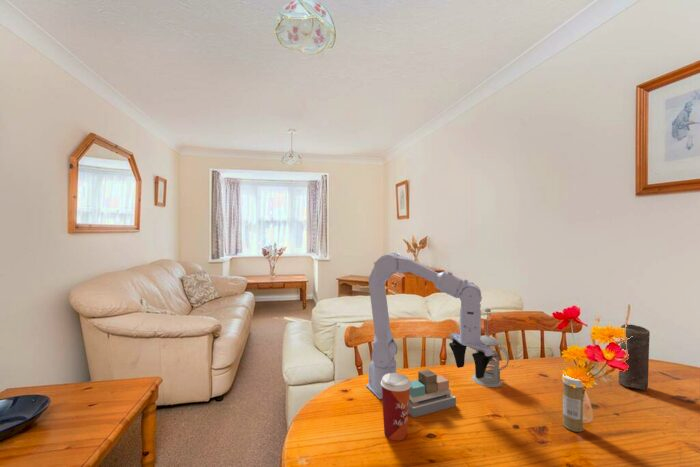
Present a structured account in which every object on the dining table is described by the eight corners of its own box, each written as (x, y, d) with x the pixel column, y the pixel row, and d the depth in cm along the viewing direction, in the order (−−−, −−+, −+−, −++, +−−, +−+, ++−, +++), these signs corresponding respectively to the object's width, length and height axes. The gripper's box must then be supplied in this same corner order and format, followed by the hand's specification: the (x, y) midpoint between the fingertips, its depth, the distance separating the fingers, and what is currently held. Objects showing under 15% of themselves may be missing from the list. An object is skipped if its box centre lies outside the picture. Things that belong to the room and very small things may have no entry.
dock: (398, 404, 95) (398, 395, 95) (439, 394, 101) (439, 385, 101) (413, 417, 88) (413, 408, 88) (455, 405, 94) (455, 397, 94)
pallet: (403, 397, 94) (403, 373, 94) (439, 388, 100) (439, 366, 100) (413, 405, 90) (413, 380, 90) (450, 396, 95) (450, 372, 95)
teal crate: (405, 390, 94) (405, 382, 94) (416, 388, 96) (416, 379, 96) (413, 397, 90) (413, 388, 90) (425, 394, 92) (425, 385, 92)
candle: (645, 385, 108) (646, 326, 108) (651, 394, 102) (652, 331, 102) (616, 379, 112) (617, 322, 112) (620, 388, 106) (621, 327, 106)
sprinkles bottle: (586, 429, 84) (586, 377, 84) (578, 435, 81) (579, 382, 81) (566, 420, 87) (567, 371, 87) (558, 425, 85) (559, 375, 85)
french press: (475, 371, 118) (476, 303, 118) (510, 380, 111) (511, 308, 111) (468, 381, 110) (469, 308, 110) (505, 391, 103) (506, 314, 103)
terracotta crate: (429, 385, 97) (429, 377, 97) (439, 382, 99) (439, 374, 99) (437, 391, 94) (438, 382, 94) (448, 388, 95) (448, 380, 95)
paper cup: (403, 447, 76) (404, 388, 76) (374, 436, 80) (375, 380, 80) (415, 430, 82) (416, 376, 82) (388, 421, 87) (388, 369, 86)
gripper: (500, 331, 88) (500, 380, 88) (462, 317, 102) (462, 360, 102) (481, 334, 85) (481, 384, 86) (445, 320, 99) (444, 364, 99)
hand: (469, 372), depth 93 cm, fingers open, 7 cm apart
